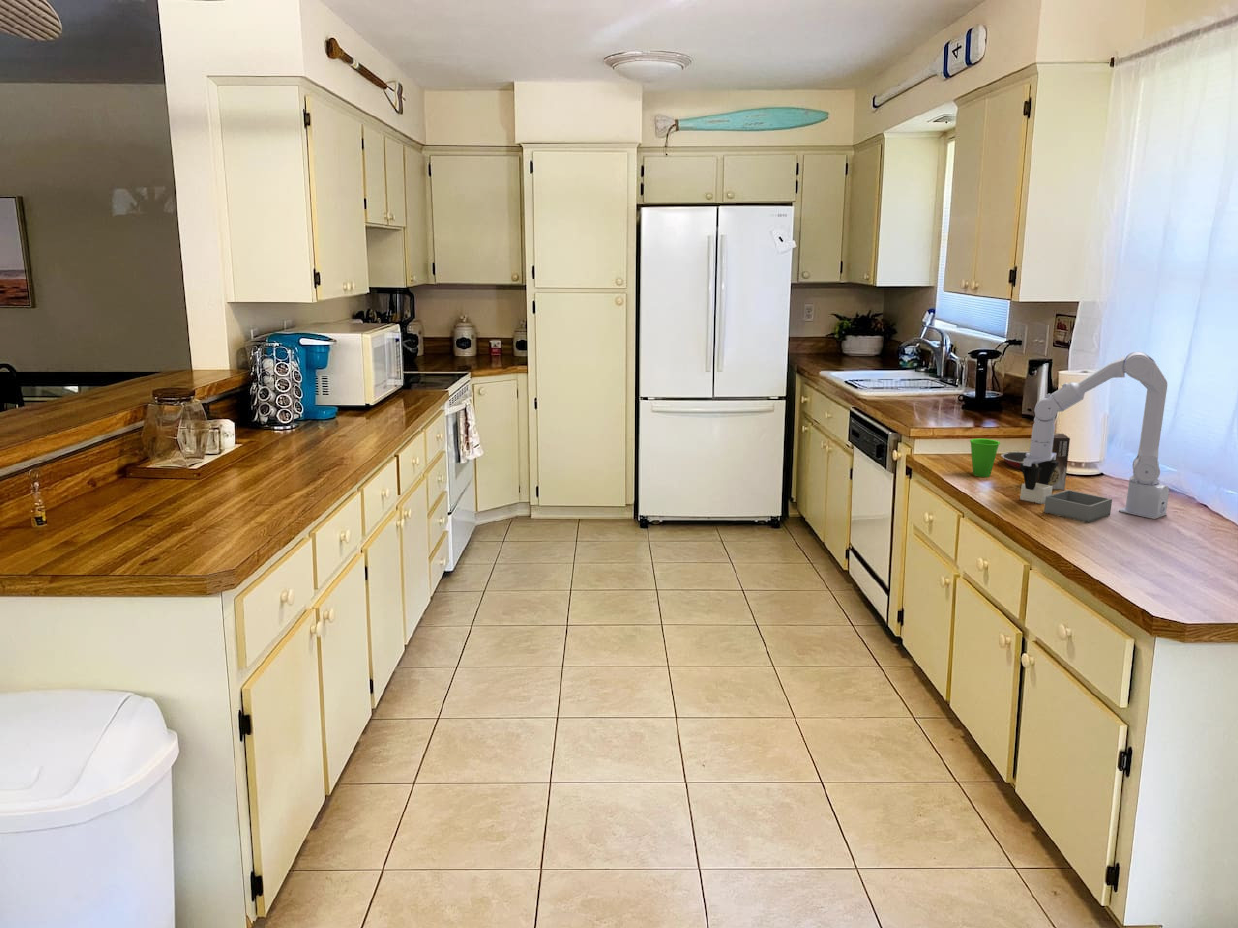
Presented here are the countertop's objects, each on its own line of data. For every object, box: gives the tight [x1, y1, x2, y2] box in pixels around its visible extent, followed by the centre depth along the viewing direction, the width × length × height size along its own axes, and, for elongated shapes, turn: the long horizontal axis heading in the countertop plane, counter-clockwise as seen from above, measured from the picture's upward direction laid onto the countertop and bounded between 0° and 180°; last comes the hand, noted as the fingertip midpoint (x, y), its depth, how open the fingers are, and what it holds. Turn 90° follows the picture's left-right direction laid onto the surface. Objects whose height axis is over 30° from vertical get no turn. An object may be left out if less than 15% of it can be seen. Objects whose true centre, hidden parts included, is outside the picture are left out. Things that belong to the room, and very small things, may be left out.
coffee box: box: [1035, 433, 1071, 491], centre depth 281 cm, size 9×6×16 cm
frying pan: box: [1000, 451, 1030, 470], centre depth 302 cm, size 19×32×4 cm, turn 177°
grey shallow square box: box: [1043, 489, 1113, 524], centre depth 254 cm, size 12×12×4 cm
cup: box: [969, 438, 1001, 478], centre depth 295 cm, size 9×9×11 cm
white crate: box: [1019, 482, 1053, 505], centre depth 267 cm, size 6×5×4 cm
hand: (1036, 487), depth 267 cm, fingers open, 7 cm apart
